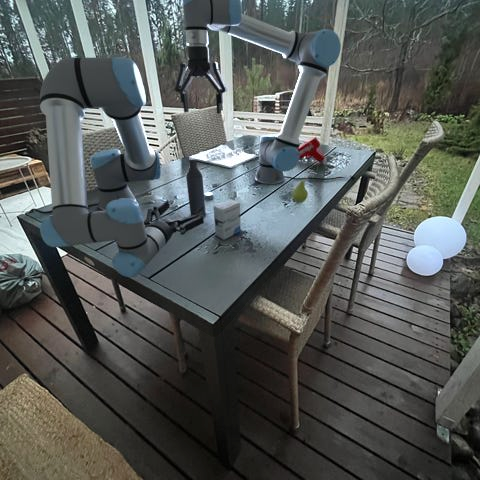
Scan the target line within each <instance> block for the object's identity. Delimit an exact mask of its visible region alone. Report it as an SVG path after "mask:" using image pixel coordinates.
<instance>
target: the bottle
mask: <svg viewBox="0 0 480 480" xmlns="http://www.w3.org/2000/svg"><path fill="white" fill-rule="evenodd" d="M197 161H198V160H197V159H196V158H190V159H189V158H188V163H189V166H188V168H187V171H186V173H185V179H186V187H187V195H188V204H189V212H190V216H192V215H194V213H195V212H196V211H197V209H198V208H199V207H200V206H201V205H204V213H203V219H204V218H206V215H207V213H206V201H205V200H206V199H205V198H204V194H205V190H204V188H205V187H204V178H203V177H204V176H203V173H202V171H201V169H200V168H199V166H198V163H197Z"/></svg>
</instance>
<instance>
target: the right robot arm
mask: <svg viewBox="0 0 480 480" xmlns="http://www.w3.org/2000/svg"><path fill="white" fill-rule="evenodd" d="M182 8H183V9H182V11H183V21H184V29H185V41H186V45H187V48H186V53H187V63H186V62H180V64H179V65H180V66H179V72H178V76H177V80H176V83H175V86H174V91H175V92H177V93H179V96H180V102H181V103H182V106H183V112H184V114H185V113H186V114H187V113H189V112H190V110H189V101H188V99H189V98H188V93H187V92H186V91H187V89H188V88H189V86H190V84H191V82H192V81H193V79H194V78H206V79H207V80H208V82H209V83H210V85H211V86H212V87H213V88H214V90H215V91H216V92H217V93H216V94H215V100H216V102H215V103H216V114H217V115H218V114H221V113H222V104H223V103H224V93H226V92H228V87H227V85H226V83H225V81H224V79H223V76H222V73H221V72H220V69H219V63H218V62H216V61H215V62H211V63H210V53H209V47H208V45H209V35H208V34H209V33H208V28H209V30H212V31H213V32H222V33H224V34H227V35H230V36H233V37H236V38H238V39H241V40H243V41H246V42H249V43H251V44H255V45H257V46H260V47H262V48H265V49H267V50H271V51H273V52H276V53H279V54H282V57H283V59H287V60H289V61H292V62H295V64H296V63H297V64H298V69H299V72H300V73H299V76H298V79H297V82H296V84H295V88H294V90H293V94H292V97H291V100H290V102H289V106H288V109H287V111H286V114H285V117H284V120H283V123H282V126H281V130H280V132H279V133H278V134H266V135H265V134H263V135H261V136H260V138H259V144H258V145H259V153H258V157H259V158H258V167H257V170H256V172H255V173H256V174H255V178H254V181H255V183H258V184H259V185H262V186H263V185H264V186H279V185H281V184H283V183H284V181H285V179H292V180H298V181H299V180H305V179H306V178H307V177H292V176H286V175H284V172H289V171H291V170H293V169H294V168H295V167H296V166H297V165H298V163H299V161H300V160H299V152H298V149H299V147H300V146H301V142H300V136H301V133H302V130H303V128H304V125H305V122H306V119H307V117H308V114H309V111H310V109H311V106H312V103H313V101H314V98H315V96H316V92H317V90H318V88H319V84H320V82H321V80H322V79H323V78H324V77H326V76H327V74H328V71H329V68H330V67H332V65H334V64H336V63H337V61H338V59H339V57H340V54H341V47H342V44H341V41H340V37H339V35H338V34H337V33H336V31H334V30H332V29H324V28H323V29H320V30H317V31H311V32H298V31H295V30H290V31H287V30H284V29H282V28H279V27H277V26H274V25H271V24H269V23H267V22H264V21H263V20H260V19H257V18H254V17H252V16H250V15H247V14H244V13H243V5H242V1H241V0H182ZM187 70H189V73H188V75H187V77H186V79H185V75H186V71H187ZM210 70H212V71H213V73H214V75H215V77H216V79H217V81H216V80H215V78H214V77H213V76H212V73H211V72H210ZM184 79H185V80H184ZM344 178H346V177H342V176H336V177H328V178H325V177H324V178H323V177H311V176H310V177H309V178H307V179H306V180H319V181H331V180H336V179H344ZM350 178H351V179H355V177H354V176H352V177H350Z"/></svg>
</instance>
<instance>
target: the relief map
mask: <svg viewBox="0 0 480 480" xmlns="http://www.w3.org/2000/svg"><path fill="white" fill-rule="evenodd" d="M190 158H196V159H197V161H199V162H202V163H207V164H211V165H215V166H219V167H223V168H228V169H233V168H235V167H237V166H239V165H242V164H245V163H247V162H249V161H252V160H254V159H256V158H257V155H256V154H252V153H251V154H250V153H247V152H245V151H244V150H243V149H242V148H241V147H239V148H237V149H232V148H230V147H229V146H228V145H227V144H222V143H221V144H220V145H218V146H216V147H214V148H212V149H208V150H205V151H199V152H198V153H197V154H192V155H190V156H188V160H189V159H190Z"/></svg>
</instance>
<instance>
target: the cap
mask: <svg viewBox="0 0 480 480" xmlns="http://www.w3.org/2000/svg"><path fill="white" fill-rule="evenodd" d="M212 199H214V193H213V192H211V191H208V192H204V200H208V201H209V200H212Z"/></svg>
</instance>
